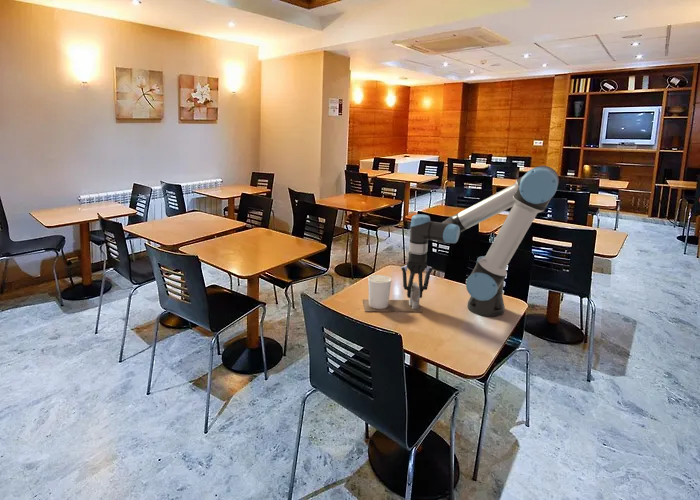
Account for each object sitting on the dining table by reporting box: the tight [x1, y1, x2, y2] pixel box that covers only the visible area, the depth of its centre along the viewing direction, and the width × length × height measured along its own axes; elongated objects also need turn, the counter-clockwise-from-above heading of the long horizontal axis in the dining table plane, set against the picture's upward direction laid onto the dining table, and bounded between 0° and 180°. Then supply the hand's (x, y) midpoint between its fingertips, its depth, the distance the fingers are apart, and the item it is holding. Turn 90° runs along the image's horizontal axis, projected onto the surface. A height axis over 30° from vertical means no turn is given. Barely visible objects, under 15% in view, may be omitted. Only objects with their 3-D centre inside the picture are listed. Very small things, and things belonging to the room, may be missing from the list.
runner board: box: [362, 282, 423, 313], centre depth 188 cm, size 24×12×9 cm, turn 93°
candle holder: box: [367, 274, 393, 309], centre depth 187 cm, size 10×10×12 cm
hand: (413, 304), depth 189 cm, fingers closed on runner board, 2 cm apart
